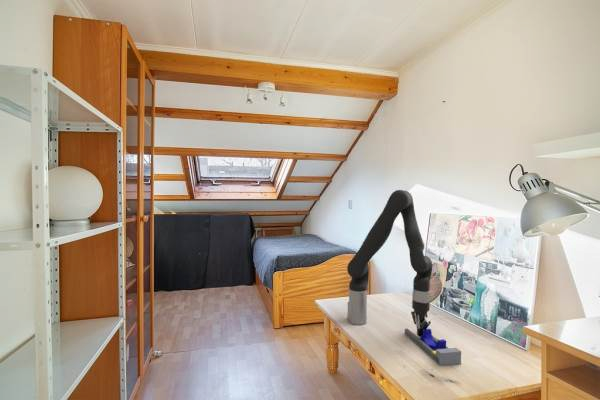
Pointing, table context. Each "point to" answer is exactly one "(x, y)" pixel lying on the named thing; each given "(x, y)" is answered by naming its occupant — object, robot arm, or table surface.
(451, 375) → the table surface
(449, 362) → the grey u-shaped bracket
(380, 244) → the robot arm
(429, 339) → the blue u-shaped block
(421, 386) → the table surface
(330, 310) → the table surface
